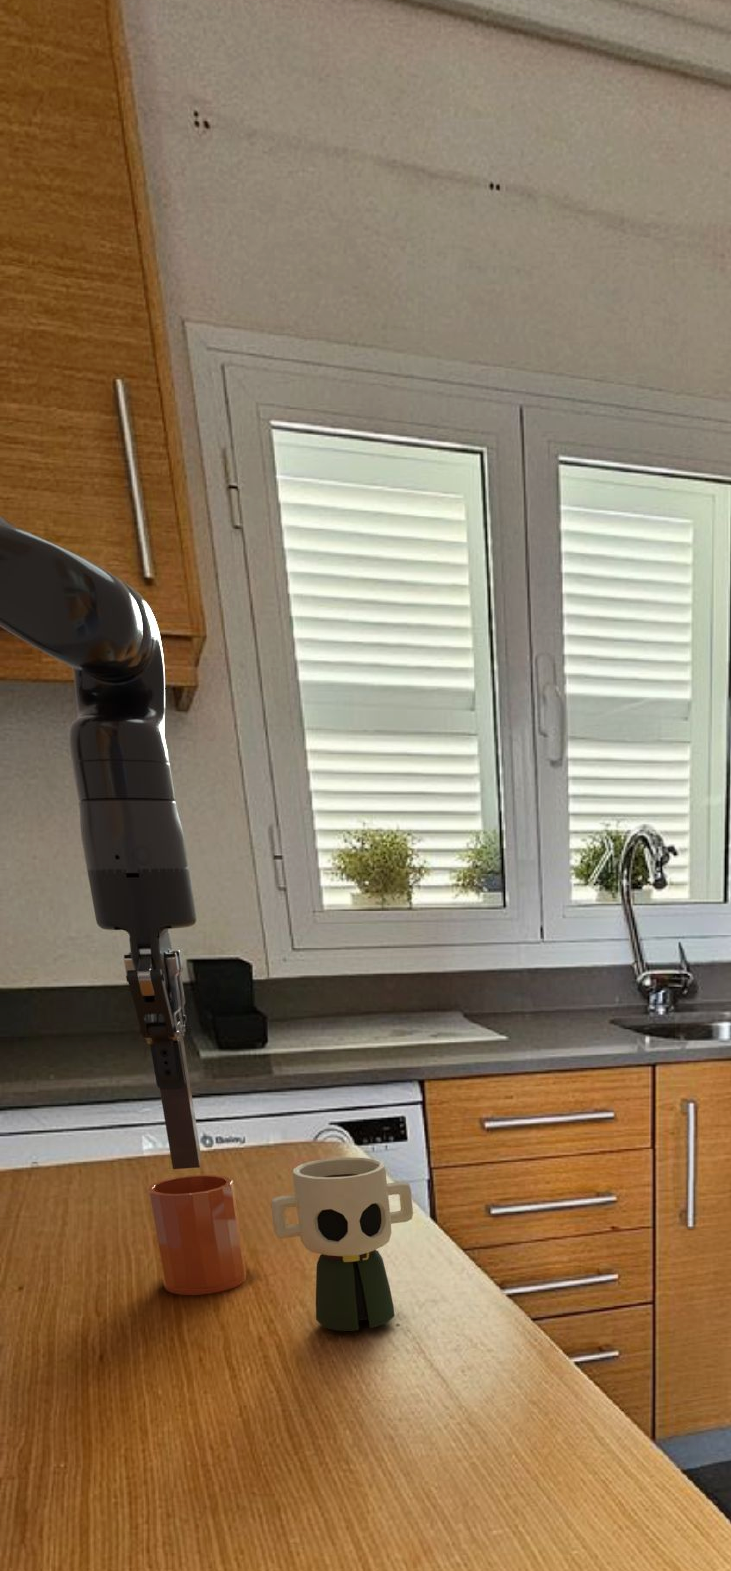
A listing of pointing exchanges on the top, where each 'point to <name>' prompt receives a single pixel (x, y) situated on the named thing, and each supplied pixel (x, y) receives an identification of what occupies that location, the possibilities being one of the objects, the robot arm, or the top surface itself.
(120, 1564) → the top surface
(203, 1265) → the tumbler
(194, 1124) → the stick
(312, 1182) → the character mug
